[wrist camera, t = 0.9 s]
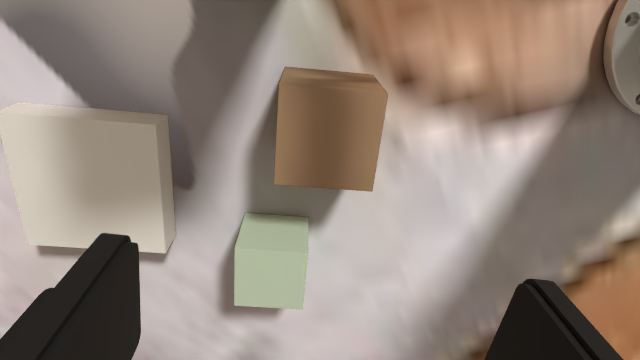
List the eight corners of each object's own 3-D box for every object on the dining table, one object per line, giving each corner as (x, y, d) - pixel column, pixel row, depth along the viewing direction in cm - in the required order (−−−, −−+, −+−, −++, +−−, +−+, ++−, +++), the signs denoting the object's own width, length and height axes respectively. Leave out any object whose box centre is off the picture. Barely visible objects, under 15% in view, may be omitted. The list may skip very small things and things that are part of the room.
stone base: (168, 114, 28) (155, 125, 26) (175, 235, 32) (165, 253, 30) (20, 102, 28) (-6, 111, 26) (47, 226, 32) (27, 244, 30)
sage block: (308, 216, 32) (308, 253, 28) (303, 267, 34) (302, 309, 30) (245, 212, 32) (234, 248, 27) (244, 264, 34) (234, 305, 29)
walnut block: (372, 74, 28) (388, 93, 22) (361, 156, 30) (372, 191, 25) (285, 66, 27) (278, 84, 22) (280, 149, 30) (273, 184, 24)
